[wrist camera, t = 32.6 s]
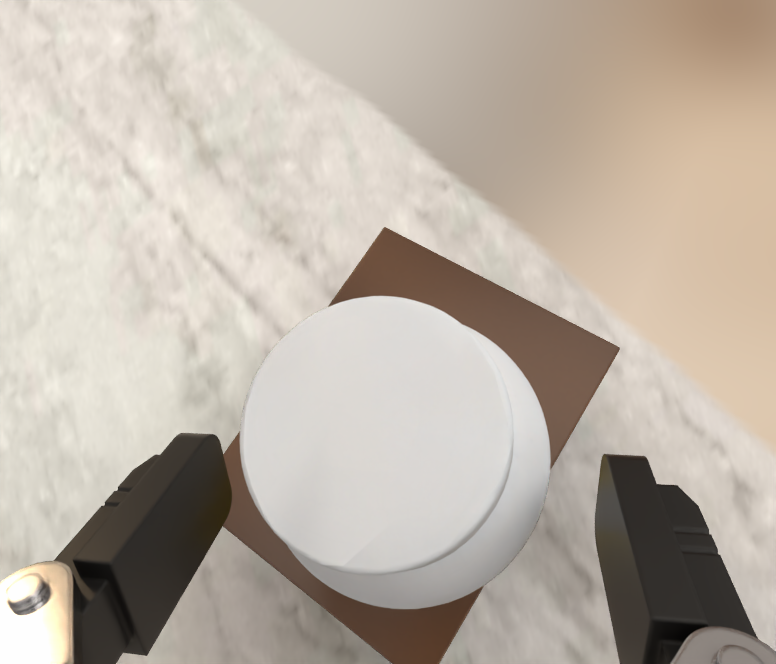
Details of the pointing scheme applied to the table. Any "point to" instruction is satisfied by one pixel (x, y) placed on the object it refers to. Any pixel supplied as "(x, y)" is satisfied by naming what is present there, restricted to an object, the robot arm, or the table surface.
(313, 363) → the pill bottle
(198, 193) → the table surface
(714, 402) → the table surface
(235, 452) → the lid
